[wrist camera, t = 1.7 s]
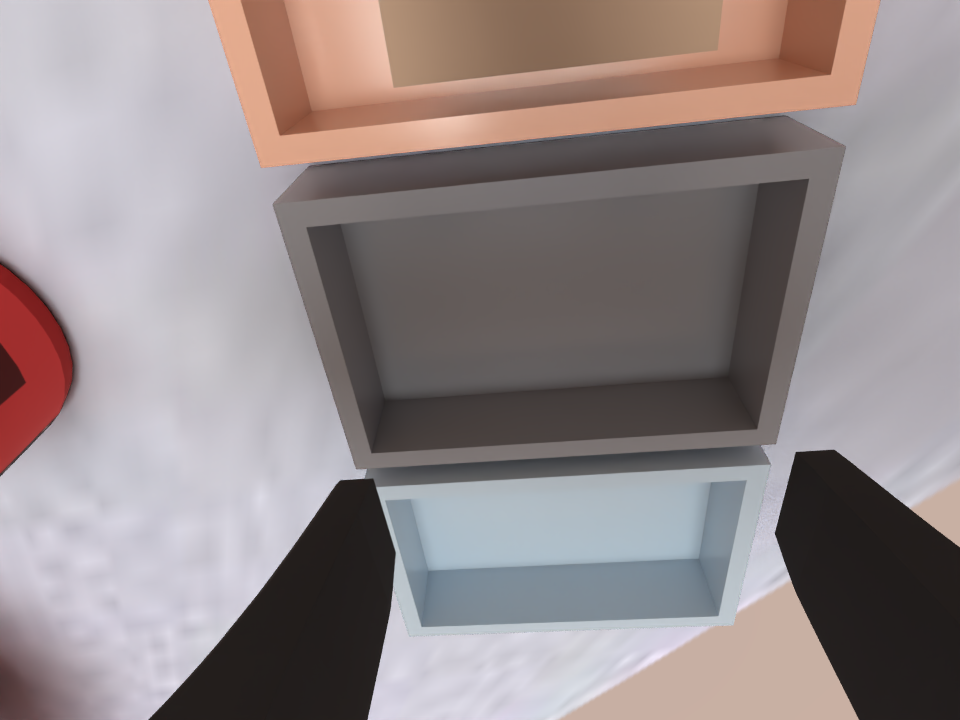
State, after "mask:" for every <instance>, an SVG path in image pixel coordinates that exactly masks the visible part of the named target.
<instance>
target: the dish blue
mask: <svg viewBox="0 0 960 720" xmlns="http://www.w3.org/2000/svg"><path fill="white" fill-rule="evenodd" d="M770 467H771V463H770V462H769V460H768V458H767V456H766V454H765V453H764V451H763V449H762V447H761V445H752V446H736V447H719V448H703V449H686V450H670V451H653V452H636V453H620V454H603V455H587V456H570V457H553V458H537V459H520V460H504V461H487V462H470V463H454V464H437V465H421V466H404V467H388V468H371V469H367V471H366V475H365V479H371V478H374V482H375V485H376V488H377V492H378V495H379V498H380V502H381V505H382V508H383V512H384V515H385V518H386V521H387V525H388V528H389V531H390V535H391V538H392V541H393V545H394V548H395V551H396V558H395V569H394V581H393V588H394V591H395V594H396V597H397V600H398V603H399V607H400V610H401V613H402V616H403V619H404V622H405V626H406V629H407V632H408V635H409V637H412V636H440V635H469V634H497V633H525V632H554V631H582V630H610V629H639V628H667V627H695V626H724V625H733V624H734V620H735V616H736V611H737V607H738V603H739V599H740V594H741V590H742V586H743V582H744V577H745V573H746V569H747V565H748V560H749V556H750V552H751V548H752V543H753V539H754V535H755V531H756V526H757V522H758V518H759V514H760V509H761V505H762V501H763V497H764V492H765V488H766V484H767V480H768V475H769V471H770Z"/></svg>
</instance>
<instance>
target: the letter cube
mask: <svg viewBox="0 0 960 720" xmlns="http://www.w3.org/2000/svg"><path fill="white" fill-rule="evenodd" d="M378 2H379V7H380V13H381V19H382V24H383V30H384V36H385V41H386V47H387V53H388V58H389V64H390V70H391V75H392V81H393V87H394V88H397V87H405V86H414V85H423V84H431V83H440V82H448V81H457V80H466V79H474V78H483V77H492V76H500V75H509V74H517V73H526V72H535V71H543V70H552V69H561V68H569V67H578V66H586V65H595V64H604V63H612V62H621V61H630V60H638V59H647V58H655V57H664V56H673V55H681V54H690V53H699V52H707V51H716V50H718V42H719V33H720V23H721V14H722V5H723V0H378Z"/></svg>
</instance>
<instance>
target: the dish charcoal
mask: <svg viewBox="0 0 960 720" xmlns="http://www.w3.org/2000/svg"><path fill="white" fill-rule="evenodd" d="M845 148H846V146H844V145H842V144H840V143H838V142H836V141H834V140H832V139H830V138H829V137H827V136H825V135H823V134H821V133H819V132H817V131H815V130H813V129H811V128H809V127H807V126H805V125H803V124H801V123H799V122H797V121H795V120H793V119H791V118H790V117H788V116H778V117H769V118H759V119H750V120H740V121H731V122H721V123H712V124H702V125H693V126H683V127H674V128H665V129H655V130H646V131H636V132H627V133H617V134H608V135H598V136H589V137H579V138H570V139H561V140H551V141H542V142H532V143H523V144H513V145H504V146H494V147H485V148H476V149H466V150H457V151H447V152H438V153H428V154H419V155H409V156H400V157H390V158H381V159H372V160H362V161H353V162H343V163H334V164H324V165H315V166H309V167H308V168H307V169H306V170H305V171H304V172H303V173H302V174H301V175H300V176H299V177H298V178H297V179H296V180H295V181H294V182H293V183H292V185H291V186H290V187H289V188H288V189H287V190H286V191H285V192H284V193H283V194H282V195H281V196H280V197H279V198H278V199H277V200H276V201H275V202H274V203H273V207H274V210H275V213H276V217H277V220H278V223H279V226H280V229H281V232H282V236H283V239H284V242H285V245H286V248H287V251H288V255H289V258H290V261H291V264H292V267H293V270H294V274H295V277H296V280H297V283H298V286H299V290H300V293H301V296H302V299H303V302H304V305H305V309H306V312H307V315H308V318H309V321H310V324H311V328H312V331H313V334H314V337H315V340H316V343H317V347H318V350H319V353H320V356H321V359H322V362H323V366H324V369H325V372H326V375H327V378H328V381H329V385H330V388H331V391H332V394H333V397H334V400H335V404H336V407H337V410H338V413H339V416H340V420H341V423H342V426H343V429H344V432H345V435H346V439H347V442H348V445H349V448H350V451H351V454H352V458H353V461H354V464H355V467H356V469H371V468H388V467H404V466H421V465H437V464H454V463H470V462H487V461H504V460H520V459H537V458H553V457H570V456H587V455H603V454H620V453H636V452H653V451H670V450H686V449H703V448H719V447H736V446H752V445H769V444H776V441H777V437H778V433H779V429H780V424H781V420H782V416H783V412H784V408H785V403H786V399H787V395H788V391H789V386H790V382H791V378H792V374H793V369H794V365H795V361H796V357H797V352H798V348H799V344H800V340H801V335H802V331H803V327H804V323H805V318H806V314H807V310H808V306H809V301H810V297H811V293H812V289H813V284H814V280H815V276H816V272H817V267H818V263H819V259H820V255H821V250H822V246H823V242H824V238H825V233H826V229H827V225H828V221H829V216H830V212H831V208H832V204H833V199H834V195H835V191H836V187H837V182H838V178H839V174H840V170H841V165H842V161H843V157H844V153H845Z"/></svg>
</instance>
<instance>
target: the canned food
mask: <svg viewBox="0 0 960 720" xmlns="http://www.w3.org/2000/svg"><path fill="white" fill-rule="evenodd" d="M71 382H72V360H71V355H70V351H69V346H68V344H67V342H66V339H65V337H64V335H63V333H62V330H61V328H60V326H59V325H58V323H57V322H56V320H55V319H54V317H53V316H52V314H51V313H50V311H49V310H48V308H47V307H46V306H45V305H44V303H43V302H42V301H41V300H40V299H39V298H38V297H37V296H36V295H35V293H34V292H33V291H32V290H31V289H30V288H29V287H28V286H27V285H26V284H24V283H23V282H22V281H21V280H20V279H19V278H17V277H16V276H15V275H14V274H13V273H12V272H11V271H9V270H8V269H7V268H5V267H4V266H2V265H1V264H0V476H1V475H2V474H3V473H4V472H5V471H6V470H7V469H8V468H9V467H10V466H11V465H12V464H13V463H14V462H15V461H16V460H17V459H18V458H19V457H20V456H21V455H22V454H23V453H24V452H25V451H26V450H27V449H28V448H29V447H30V446H31V444H32V443H33V442H34V441H35V440H36V439H37V438H38V437H39V436H40V435H41V434H42V433H43V432H44V431H45V430H46V429H47V428H48V427H49V426H50V425H51V424H52V422H53V421H54V419H55V418H56V417H57V415H58V414H59V413H60V410H61V408H62V406H63V403H64V401H65V399H66V397H67V394H68V391H69V388H70V385H71Z"/></svg>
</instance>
